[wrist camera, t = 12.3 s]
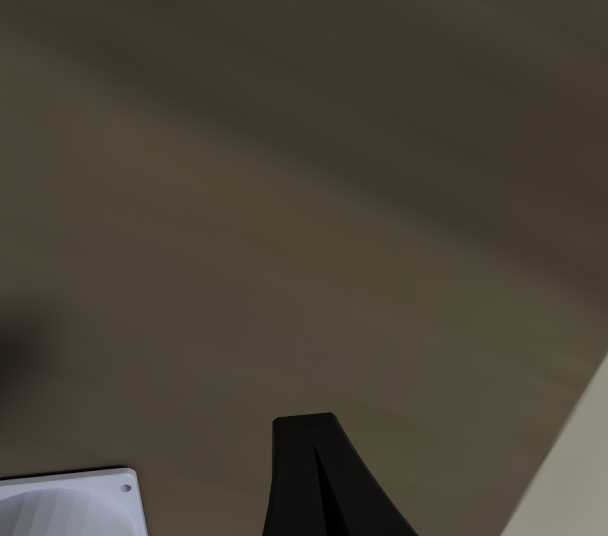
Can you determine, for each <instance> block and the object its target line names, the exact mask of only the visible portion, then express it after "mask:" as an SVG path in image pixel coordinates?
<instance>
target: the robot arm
mask: <svg viewBox="0 0 608 536" xmlns="http://www.w3.org/2000/svg"><path fill="white" fill-rule="evenodd" d="M0 536H148V535H147V529H146V524H145V518H144V513H143V508H142V502H141V497H140V491H139V486H138V480H137V475H136V472H135V471H134V470H132V469H130V468H117V469H108V470H98V471H89V472H79V473H70V474H60V475H51V476H41V477H32V478H22V479H13V480H3V481H0ZM262 536H419V535H418V534H417V533H416V532H415V531H414V529H413V528H412V527H411V526H410V524H409V523H408V522H407V521H406V519H405V518H404V517H403V516H402V514H401V513H400V512H399V511H398V509H397V508H396V507H395V505H394V504H393V503H392V502H391V500H390V499H389V498H388V496H387V495H386V493H385V492H384V491H383V489H382V488H381V486H380V485H379V484H378V482H377V481H376V480H375V478H374V477H373V475H372V474H371V473H370V471H369V470H368V468H367V467H366V465H365V464H364V462H363V461H362V459H361V458H360V456H359V455H358V453H357V451H356V450H355V448H354V447H353V445H352V443H351V442H350V440H349V439H348V437H347V435H346V434H345V432H344V430H343V428H342V427H341V425H340V423H339V421H338V419H337V417H336V416H335V415H334V414H333V413H332V412H329V413H318V414H308V415H297V416H287V417H278V418H276V419H275V420H274V421H273V429H272V484H271V491H270V498H269V504H268V510H267V515H266V520H265V525H264V529H263V534H262Z"/></svg>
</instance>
